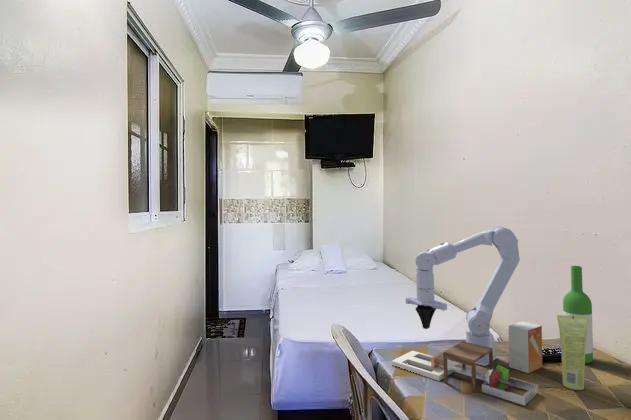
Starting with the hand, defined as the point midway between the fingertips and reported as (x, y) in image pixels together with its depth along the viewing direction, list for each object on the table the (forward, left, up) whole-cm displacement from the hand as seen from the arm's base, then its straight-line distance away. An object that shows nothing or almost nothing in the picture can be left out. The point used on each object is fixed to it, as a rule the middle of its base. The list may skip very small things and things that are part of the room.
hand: (426, 328), depth 133 cm
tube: (-7, +41, -10) cm, 43 cm away
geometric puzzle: (+9, +28, -10) cm, 30 cm away
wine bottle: (-29, +37, -10) cm, 48 cm away
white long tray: (+8, +22, -9) cm, 25 cm away
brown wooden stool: (+9, +19, -9) cm, 22 cm away
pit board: (+9, +4, -9) cm, 13 cm away
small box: (-12, +27, -10) cm, 31 cm away
